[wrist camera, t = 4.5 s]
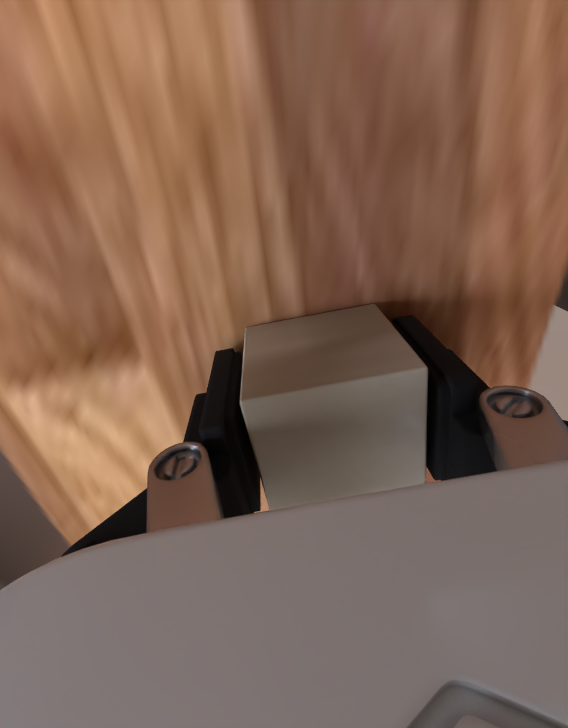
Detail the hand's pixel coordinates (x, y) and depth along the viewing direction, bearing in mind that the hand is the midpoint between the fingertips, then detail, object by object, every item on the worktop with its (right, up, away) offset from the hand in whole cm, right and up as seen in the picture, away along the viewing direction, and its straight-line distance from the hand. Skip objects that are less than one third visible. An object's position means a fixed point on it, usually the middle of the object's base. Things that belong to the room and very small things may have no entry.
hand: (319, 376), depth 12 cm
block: (0, 0, 0) cm, 0 cm away
